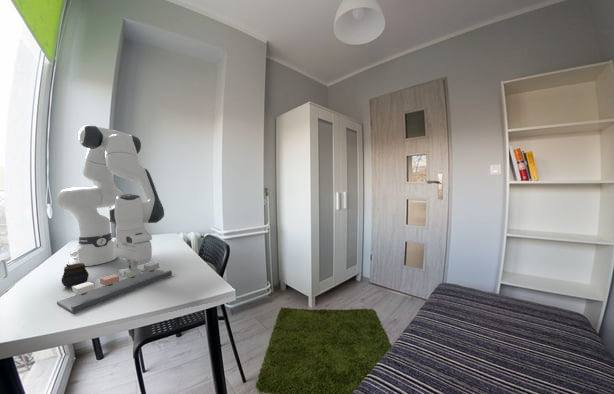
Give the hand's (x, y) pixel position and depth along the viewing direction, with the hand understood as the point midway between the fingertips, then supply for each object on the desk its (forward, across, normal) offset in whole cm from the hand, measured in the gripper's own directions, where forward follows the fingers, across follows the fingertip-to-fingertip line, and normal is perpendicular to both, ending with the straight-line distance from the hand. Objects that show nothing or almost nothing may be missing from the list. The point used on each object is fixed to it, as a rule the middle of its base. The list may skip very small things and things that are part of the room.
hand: (132, 269), depth 83 cm
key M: (+3, 0, +7) cm, 8 cm away
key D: (+3, 0, 0) cm, 3 cm away
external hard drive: (+7, -15, +9) cm, 19 cm away
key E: (+3, 0, -7) cm, 8 cm away
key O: (+3, 0, -14) cm, 15 cm away
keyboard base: (+6, 0, -4) cm, 7 cm away
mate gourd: (+6, -20, -10) cm, 23 cm away
